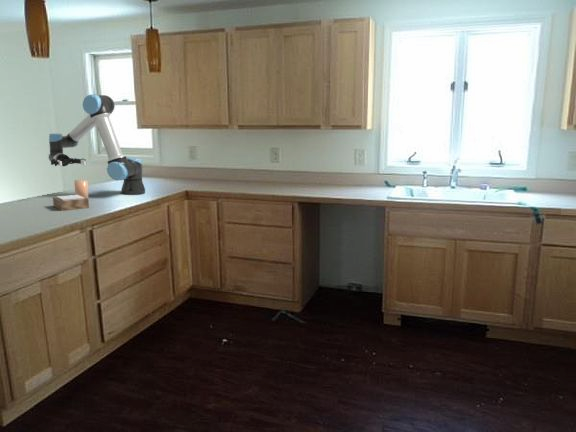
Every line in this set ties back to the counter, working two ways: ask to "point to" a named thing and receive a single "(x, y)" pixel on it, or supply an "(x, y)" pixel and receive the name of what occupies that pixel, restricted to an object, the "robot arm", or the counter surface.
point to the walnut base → (70, 202)
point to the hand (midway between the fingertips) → (73, 163)
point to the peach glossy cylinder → (81, 188)
